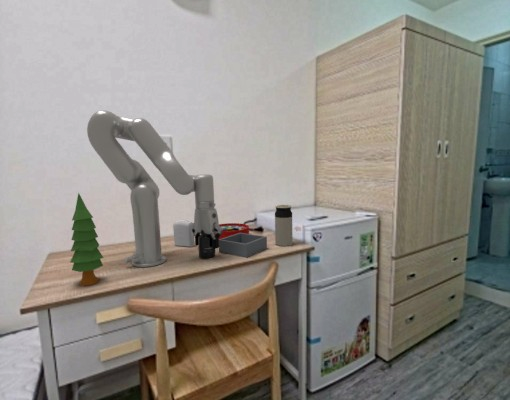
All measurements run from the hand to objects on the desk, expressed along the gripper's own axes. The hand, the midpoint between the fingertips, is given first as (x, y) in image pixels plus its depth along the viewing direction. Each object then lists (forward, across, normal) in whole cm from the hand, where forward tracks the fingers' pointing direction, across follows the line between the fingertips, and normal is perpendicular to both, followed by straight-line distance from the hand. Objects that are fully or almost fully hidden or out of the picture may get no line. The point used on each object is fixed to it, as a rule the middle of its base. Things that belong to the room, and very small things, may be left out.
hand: (206, 246), depth 123 cm
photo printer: (+5, +22, -7) cm, 24 cm away
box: (+4, -7, -15) cm, 17 cm away
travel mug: (+5, -17, -33) cm, 37 cm away
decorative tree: (+4, +15, +40) cm, 43 cm away
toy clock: (+5, +13, -29) cm, 33 cm away
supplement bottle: (+5, 0, 0) cm, 5 cm away
